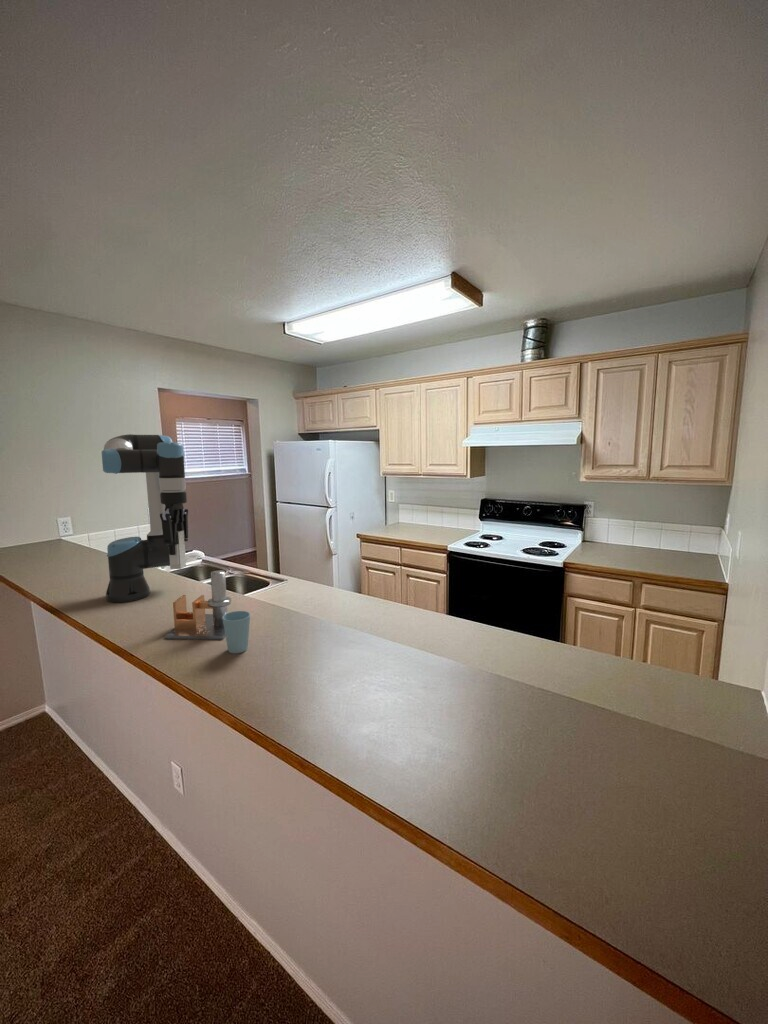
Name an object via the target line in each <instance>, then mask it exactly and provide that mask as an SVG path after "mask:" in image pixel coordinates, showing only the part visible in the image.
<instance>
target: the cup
mask: <svg viewBox="0 0 768 1024" xmlns="http://www.w3.org/2000/svg"><path fill="white" fill-rule="evenodd" d="M222 619H223V624H224V630H225V636H226V637H225V641H226V646H227V651H228V653H230V654H240V653H244V652H246V651H247V650H248V648H249V635H250V634H249V633H250V623H251V613H250V612H249V611H246V610H235V611H231V612H227V614H225V615H224V616H223V617H222Z"/></svg>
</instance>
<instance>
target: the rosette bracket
mask: <svg viewBox="0 0 768 1024" xmlns="http://www.w3.org/2000/svg"><path fill="white" fill-rule="evenodd" d="M226 577H227V576H226V571H225V570H223V569H221V570H219V569H218V570H214V571H211V572H210V581H211V582H210V585H211V587H210V589H211V598H210V599H208V600H205V595H204V594H201V595H200V596H199V597H198V598H196V599H195V600H194V601H192V602H191V605H192V612H191V611H188V609H187V595H186V594H183V595H182V596H180V597H178V598H177V599H176V600H174V601H173V602H172V607H173V608H172V609H173V623H174V628H172V630H170V631H169V632H168V633H167V634H165V635H164V639H165V640H224V639H226V636H225V630H224V624H223V619H222V617H223V616H224V615H225V614H227V613H228V606H229V605H231V604H232V598H231V597H229V596H227V582H226V581H227V580H226ZM207 609H209V610H210V609H211V610H212V613H206V610H207Z"/></svg>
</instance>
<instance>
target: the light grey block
mask: <svg viewBox="0 0 768 1024" xmlns="http://www.w3.org/2000/svg"><path fill="white" fill-rule="evenodd" d="M184 542H185V541H184V531H177V543H176V544H178V549H179V565H170V566H169V567H170V570H181V569H184V568H186V567H187V563H186V561H187V560H186V559H187V558H186V559H185V557H186V546H185V544H184Z"/></svg>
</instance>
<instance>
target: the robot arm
mask: <svg viewBox="0 0 768 1024" xmlns="http://www.w3.org/2000/svg"><path fill="white" fill-rule="evenodd" d="M101 463H102V471H103V472H104V473H106V474H115V475H116V474H128V473H129V474H133V473H134V474H135V473H141V474H142V473H143V474H144V473H145V480H146V481H145V482H146V483H145V484H146V493H147V505H148V517H149V526H150V527H149V528H150V529H149V532H148V533H147V534H146V539H142V538H141V536H129V537H128V536H127V537H123V538H120V539H116V540H113V541H111V542H110V543H108V545H107V548H106V549H107V551H106V552H107V554H106V557H107V562H108V574H109V581H108V584H107V588H106V591H105V600H106V601H107V602H109V603H127V602H134V601H138V600H141V599H144V598H147V597H149V596H150V594H151V590H150V586H149V584H148V582H147V580H146V578H145V574H144V569H145V570H147V569H153V568H163V567H170V565H179V549H178V544H176V543H177V531H184V544H185V542H188V541H189V539H188V538H189V524H188V523H189V521H188V518H189V517H188V515H189V509H187V508H184V504H186V503H187V502H188V500H187V499H188V498H187V497H188V496H187V492H186V490H187V484H186V483H187V482H186V474H185V473H186V472H185V451H184V446H183V444H182V442H173V440H172V438H171V437H170V436H169V435H163V434H130V433H129V434H122V435H117V436H115V437H112V438H110V439H108V441H106V442H105V443H104V446H103V450H101ZM185 559H187V557H186V556H185Z"/></svg>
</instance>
